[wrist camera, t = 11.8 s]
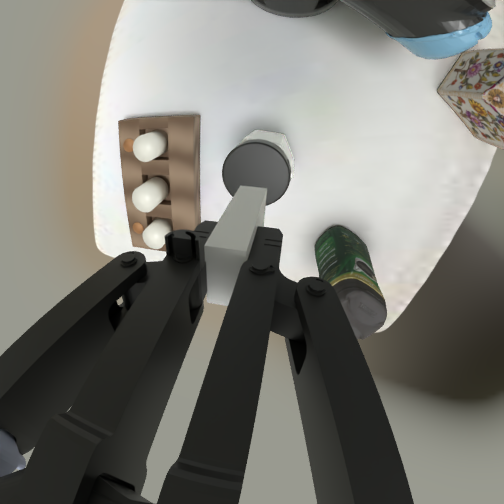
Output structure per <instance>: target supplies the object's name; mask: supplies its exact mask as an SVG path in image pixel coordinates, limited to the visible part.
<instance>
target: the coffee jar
mask: <svg viewBox="0 0 504 504" xmlns="http://www.w3.org/2000/svg"><path fill="white" fill-rule="evenodd" d="M315 255H316V261H317V266H318V271H319V277H320V278H321V279H324V280H326V281H328V282H329V283H330V284H331V285H332V286H333V287H334V289H335V291H336V293H337V295H338V298H339V300H340V302H341V304H342V306H343V309H344V311H345V313H346V315H347V318H348V320H349V322H350V324H351V327H352V329H353V331H354V334H355V336H356V338H357V339H365V338H367V337H368V336H370V335H371V334H373V333H374V332H376V331H377V330H378V329H380V328H381V327H382V326H383V325H384V322H385V320H386V317H387V309H386V303H385V299H384V297H383V295H382V293H381V290H380V288H379V286H378V283H377V280H376V277H375V274H374V270H373V267H372V263H371V260H370V256H369V252H368V249H367V247H366V245H365V244H364V242H363V241H362V240H361V239H360V238H358V237H357V236H356V235H355V234H353V233H352V232H351V231H349V230H347V229H346V228H344V227H340V226H337V227H332V228H330V229H329V230H327V231H326V232H325V233H324V234H323V235H322V236H321V237H320V238H319V240H318V241H317V243H316V245H315Z"/></svg>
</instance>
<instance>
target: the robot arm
mask: <svg viewBox="0 0 504 504" xmlns="http://www.w3.org/2000/svg"><path fill="white" fill-rule="evenodd" d="M251 1H252V2H253V3H255V4H256V5H257V6H258V7H260V8H262V9H263V10H265V11H268V12H270V13H273V14H276V15H280V16H285V17H309V16H314V15H317V14H320V13H322V12H325V11H326V10H328V9H330V8H331V7H332V6H333V5H334V4H335V3H336V2H337V1H338V0H251ZM340 1H342V2H343V3H345V4H347V5H348V6H350V7H351V8H353V9H354V10H356V11H357V12H359V13H360V14H362V15H363V16H365V17H366V18H368V19H369V20H371V21H372V22H373V23H375V24H376V25H377V26H379V27H380V28H381V29H383V30H384V31H385V32H386V34H387V35H388V36H389V37H390V38H392V39H394V40H397V41H398V42H399V43H401V44H402V45H403V46H404V47H406V48H407V49H408V50H409V51H410V52H412V53H413V54H415V55H416V56H419V57H422V58H425V59H442V58H447V57H450V56H454V55H456V54H459V53H461V52H464V51H466V50H468V49H469V48H471V47H473V46H474V45H476V44H477V43H478V41H477V40H479V39H483V38H485V37H486V36H487V34H488V33H489V32H490V30H491V28H492V20H491V18H490V15H489V13H488V12H487V11H489V10H491V9H493V8H494V7H496V4H495V0H340ZM266 194H267V188H259V187H250V186H240V187H239V189H238V190H237V192H236V193H235V195H234V197H233V198H232V200H231V202H230V203H229V205H228V206H227V208H226V210H225V211H224V213H223V215H222V216H221V218H220V220H219V221H218V222H214V221H204V222H202V223H200V224H198V225H197V227H196V228H195V230H194V231H192V230H187V229H180V230H174V231H172V232H169V233H168V234H166V235H165V236H164V237H165V245H166V253H167V255H166V257H165V258H164V260H163V261H158V262H146V258H145V256H144V255H143V254H142V253H140V252H136V251H132V252H131V251H130V252H126V253H123V254H121V255H119V256H117V257H116V258H115V259H113V260H112V261H111V262H109V263H108V264H107V265H105V266H104V267H103V268H101V269H100V270H99V271H97V272H96V273H95V274H93V275H92V276H91V277H90V278H88V279H87V280H86V281H85V282H84V283H82V284H81V285H80V286H78V287H77V288H76V289H75V290H73V291H72V292H71V293H70V294H69V295H67V296H66V297H65V298H64V299H62V300H61V301H60V302H59V303H58V304H57V305H56V306H54V307H53V308H52V309H51V310H50V311H48V312H47V313H46V314H45V315H44V316H43V317H42V318H40V319H39V320H38V321H37V322H36V323H35V324H34V325H33V326H32V327H30V328H29V329H28V330H27V331H26V332H25V333H24V334H23V335H22V336H21V337H20V338H19V339H18V340H16V341H15V342H14V343H13V344H12V345H11V346H10V347H9V348H8V349H7V350H6V351H5V352H4V353H3V354H2V355H1V356H0V504H153V503H151V502H150V501H148V500H146V499H145V498H143V497H142V496H140V495H141V491H142V489H143V486H144V483H145V479H146V475H147V469H146V460H147V457H148V454H149V451H150V448H151V446H152V443H153V440H154V437H155V434H156V432H157V429H158V426H159V424H160V421H161V418H162V416H163V413H164V410H165V408H166V405H167V402H168V400H169V397H170V394H171V392H172V389H173V386H174V384H175V381H176V379H177V376H178V373H179V371H180V369H181V366H182V363H183V361H184V358H185V355H186V353H187V350H188V348H189V345H190V343H191V341H192V338H193V336H194V333H195V330H196V328H197V326H198V323H199V320H200V318H201V316H202V313H203V309H204V304H203V300H204V298H205V295H206V293H207V302H208V303H214V304H219V305H225V306H228V307H227V310H226V314H225V317H224V320H223V323H222V326H221V329H220V332H219V335H218V338H217V341H216V344H215V347H214V350H213V354H212V356H211V359H210V362H209V366H208V369H207V372H206V375H205V378H204V381H203V384H202V387H201V390H200V393H199V396H198V399H197V403H196V406H195V409H194V412H193V415H192V418H191V421H190V424H189V428H188V431H187V434H186V437H185V440H184V443H183V446H182V449H181V453H180V455H179V458H178V459H177V461H176V462H175V463H174V464H173V465H172V466H171V468H170V469H169V471H168V473H167V475H166V478H165V480H164V483H163V487H162V489H161V492H160V495H159V499H158V502H157V504H238V503H239V498H240V494H241V489H242V484H243V479H244V473H245V469H246V464H247V459H248V454H249V449H250V444H251V438H252V433H253V428H254V422H255V417H256V411H257V406H258V400H259V395H260V389H261V383H262V377H263V371H264V365H265V358H266V352H267V346H268V340H269V333H270V331H272V332H274V333H277V334H279V335H281V336H284V337H285V342H286V346H287V351H288V356H289V361H290V366H291V370H292V375H293V380H294V384H295V390H296V395H297V400H298V405H299V410H300V414H301V420H302V424H303V430H304V435H305V440H306V445H307V451H308V456H309V461H310V466H311V472H312V477H313V482H314V487H315V493H316V499H317V504H414V503H413V499H412V495H411V492H410V488H409V484H408V480H407V477H406V473H405V470H404V467H403V463H402V460H401V457H400V454H399V451H398V448H397V444H396V441H395V438H394V435H393V432H392V429H391V426H390V424H389V421H388V418H387V415H386V412H385V410H384V407H383V404H382V401H381V399H380V396H379V393H378V391H377V388H376V385H375V383H374V380H373V378H372V375H371V372H370V370H369V367H368V365H367V363H366V360H365V358H364V355H363V353H362V351H361V348H360V345H359V343H358V341H357V338H356V336H355V334H354V331H353V329H352V327H351V324H350V322H349V320H348V318H347V315H346V313H345V311H344V309H343V306H342V304H341V302H340V300H339V298H338V295H337V293H336V291H335V289H334V287H333V286H332V285H331V284H330V283H329V282H328V281H326V280H324V279H321V278H319V277H306V278H303V279H301V280H299V282H298V283H297V282H294V281H292V280H290V279H288V278H286V277H285V276H284V275H283V274H282V273H281V272H280V270H279V262H280V254H281V246H282V238H283V234H282V233H281V231H280V230H279V229H276V228H268V227H264V216H265V205H266ZM121 296H122V299H123V303H122V304H121V305H118V304H117V300H118V299H119V298H120V297H121ZM71 406H72V407H71ZM70 407H71V408H70ZM69 408H70V410H69V411H68V409H69ZM67 411H68V412H67ZM34 447H35V448H34ZM33 448H34V450H33V453H32V455H31V457H30V459H29V462H28V464H27V467H26V468H25V466H26V461H25V458H24V457H23V456H22V455H23V454H25V453H27V452H28V451H30V450H31V449H33ZM16 468H17V469H19V471H16V472H13V471H14V470H15V469H16ZM12 472H13V473H12Z"/></svg>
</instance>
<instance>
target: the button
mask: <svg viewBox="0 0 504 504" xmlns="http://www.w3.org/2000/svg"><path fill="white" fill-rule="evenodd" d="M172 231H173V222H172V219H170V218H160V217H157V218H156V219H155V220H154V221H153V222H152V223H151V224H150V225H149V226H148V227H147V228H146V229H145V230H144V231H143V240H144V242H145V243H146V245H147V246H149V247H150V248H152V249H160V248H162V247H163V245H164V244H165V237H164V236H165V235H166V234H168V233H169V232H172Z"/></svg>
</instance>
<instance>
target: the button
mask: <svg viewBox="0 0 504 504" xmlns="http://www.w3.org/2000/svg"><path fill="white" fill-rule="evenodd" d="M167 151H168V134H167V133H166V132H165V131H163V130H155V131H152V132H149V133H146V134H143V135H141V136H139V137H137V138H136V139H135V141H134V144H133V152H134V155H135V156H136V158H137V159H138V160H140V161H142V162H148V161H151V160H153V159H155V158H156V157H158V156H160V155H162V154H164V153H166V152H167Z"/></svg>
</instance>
